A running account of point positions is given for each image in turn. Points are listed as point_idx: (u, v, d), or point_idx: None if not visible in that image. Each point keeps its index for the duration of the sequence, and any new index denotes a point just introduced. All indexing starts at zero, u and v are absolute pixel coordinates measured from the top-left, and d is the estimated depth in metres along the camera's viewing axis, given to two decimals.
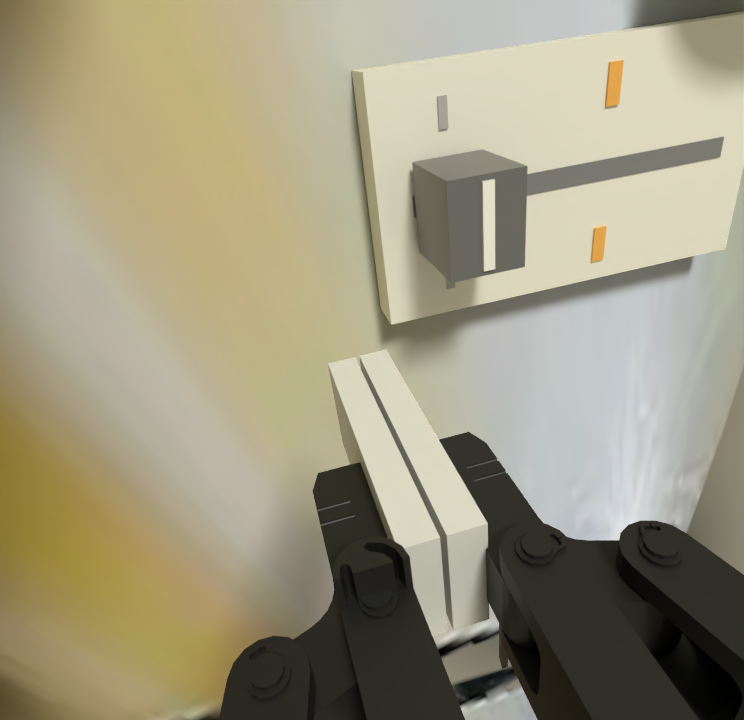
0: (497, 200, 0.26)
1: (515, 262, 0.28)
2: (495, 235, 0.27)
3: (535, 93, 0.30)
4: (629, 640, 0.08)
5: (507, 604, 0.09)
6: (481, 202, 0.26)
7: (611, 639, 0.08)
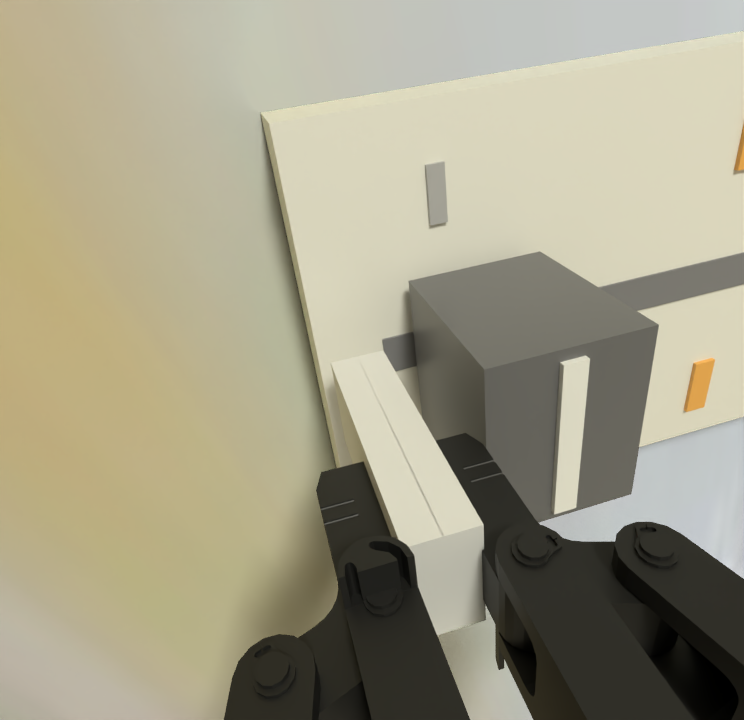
0: (589, 393, 0.12)
1: (615, 489, 0.14)
2: (580, 455, 0.13)
3: (612, 152, 0.16)
4: (625, 641, 0.08)
5: (503, 606, 0.09)
6: (556, 399, 0.12)
7: (607, 640, 0.08)
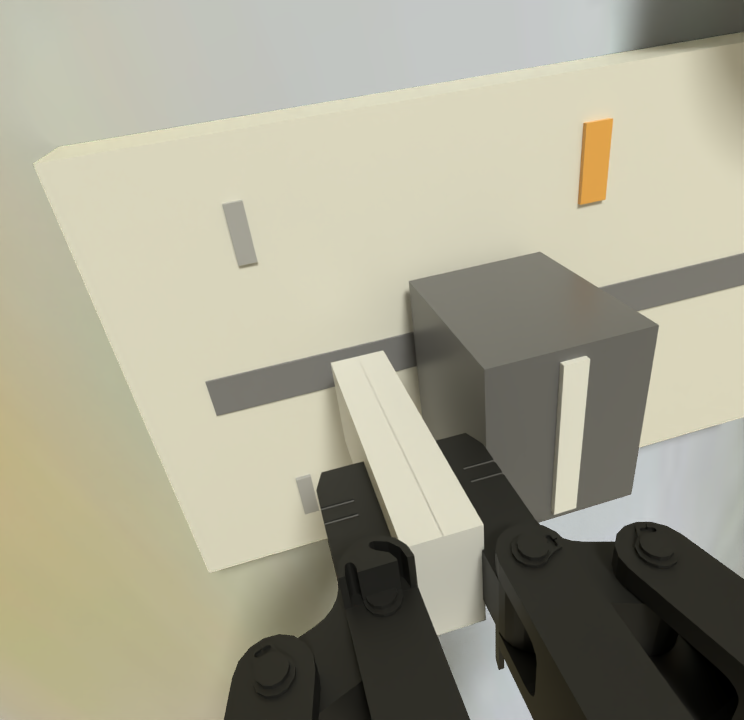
0: (589, 393, 0.12)
1: (614, 489, 0.14)
2: (580, 456, 0.13)
3: (436, 188, 0.15)
4: (625, 641, 0.08)
5: (503, 605, 0.09)
6: (556, 400, 0.12)
7: (607, 640, 0.08)
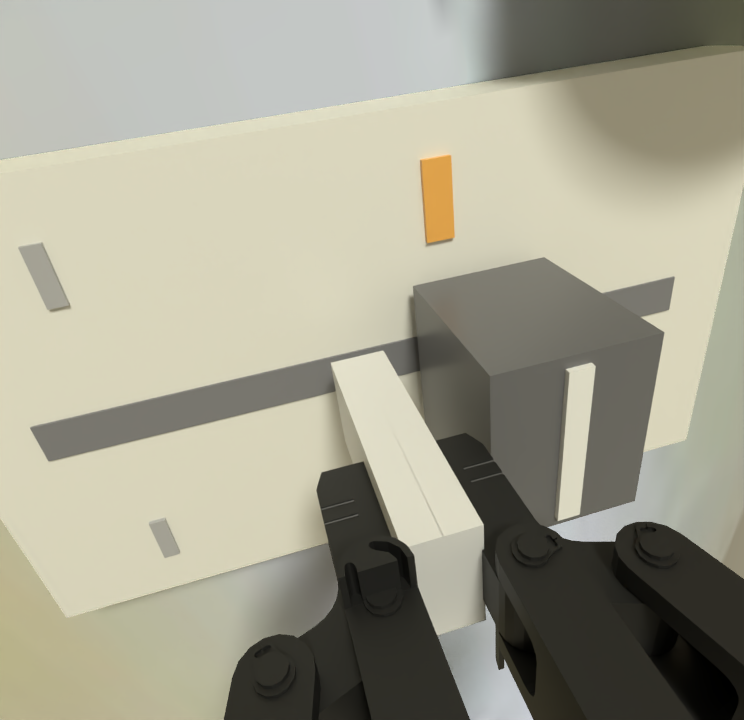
0: (594, 400, 0.12)
1: (618, 496, 0.14)
2: (584, 462, 0.13)
3: (262, 227, 0.14)
4: (625, 641, 0.08)
5: (503, 605, 0.09)
6: (561, 406, 0.12)
7: (607, 640, 0.08)
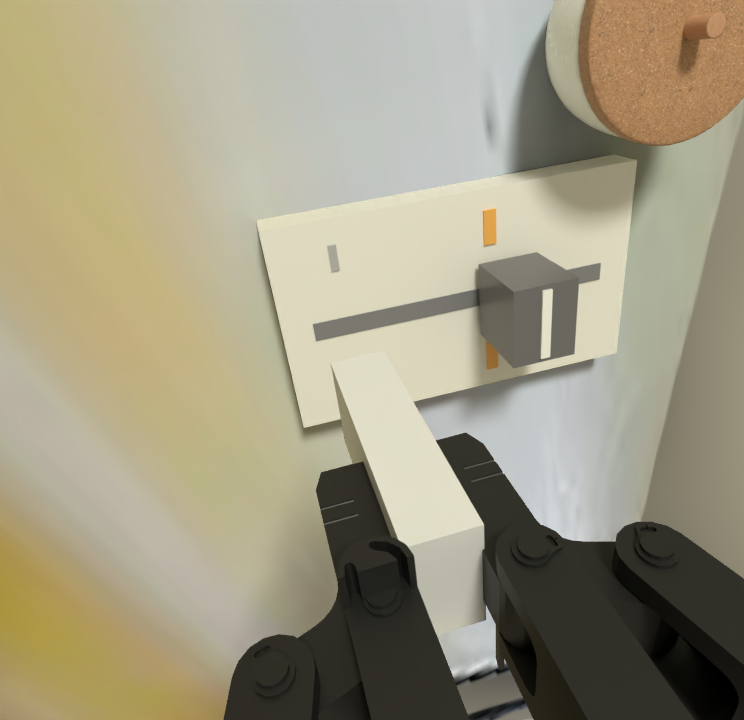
0: (553, 304, 0.32)
1: (566, 350, 0.33)
2: (551, 331, 0.32)
3: (417, 238, 0.34)
4: (625, 641, 0.08)
5: (504, 605, 0.09)
6: (540, 306, 0.32)
7: (608, 640, 0.08)
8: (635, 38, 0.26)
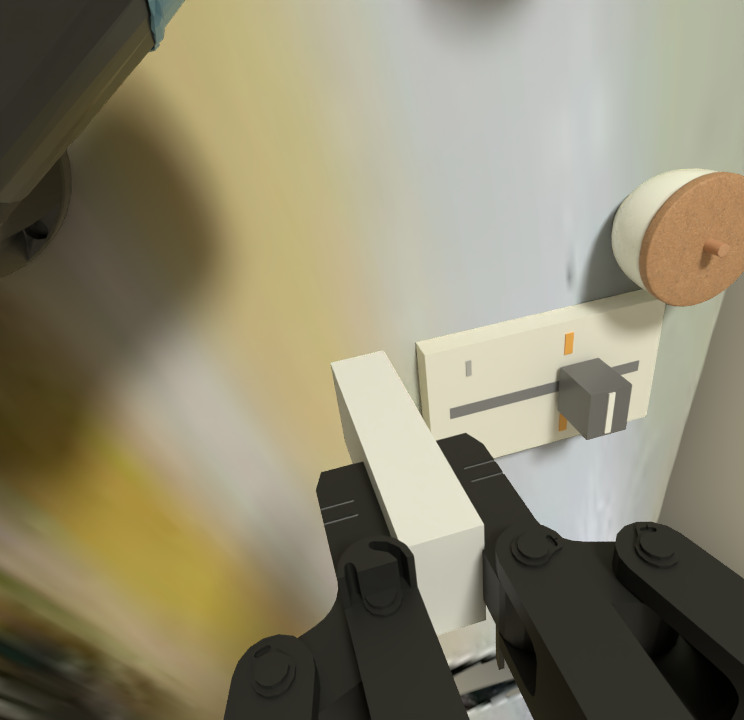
0: (615, 401, 0.49)
1: (621, 427, 0.51)
2: (612, 417, 0.49)
3: (522, 353, 0.51)
4: (626, 641, 0.08)
5: (504, 605, 0.09)
6: (607, 402, 0.49)
7: (608, 640, 0.08)
8: (675, 253, 0.43)
